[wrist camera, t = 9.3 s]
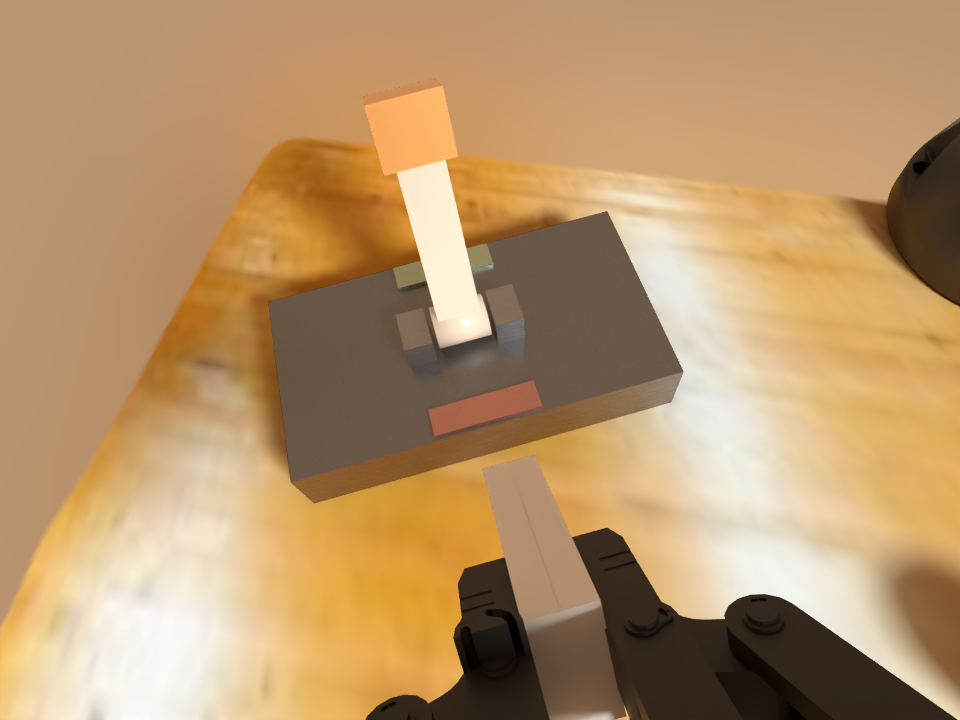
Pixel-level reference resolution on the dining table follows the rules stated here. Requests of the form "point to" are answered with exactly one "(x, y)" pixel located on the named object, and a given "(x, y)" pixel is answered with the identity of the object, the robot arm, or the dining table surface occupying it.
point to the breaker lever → (430, 201)
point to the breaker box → (466, 360)
